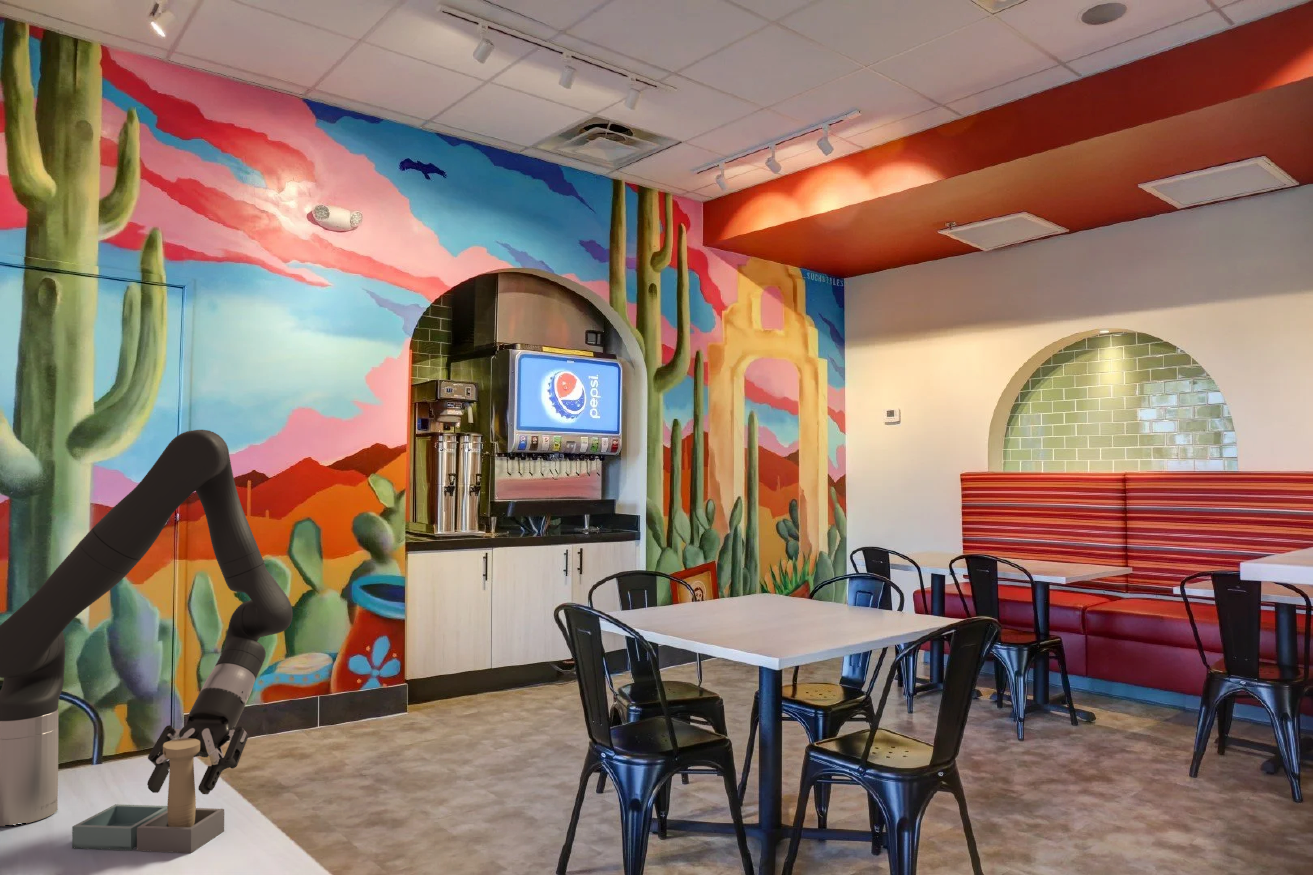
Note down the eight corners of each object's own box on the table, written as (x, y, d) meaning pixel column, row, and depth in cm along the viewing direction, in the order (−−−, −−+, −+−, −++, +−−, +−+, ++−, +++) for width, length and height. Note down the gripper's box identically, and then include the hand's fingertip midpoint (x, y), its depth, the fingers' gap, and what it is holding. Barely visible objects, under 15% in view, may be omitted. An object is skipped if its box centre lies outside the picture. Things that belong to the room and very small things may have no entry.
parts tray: (72, 848, 133) (72, 826, 133) (115, 824, 142) (115, 804, 142) (130, 850, 132) (130, 828, 132) (170, 826, 141) (170, 806, 141)
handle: (172, 851, 131) (172, 751, 132) (157, 840, 136) (157, 743, 136) (205, 841, 135) (205, 744, 135) (190, 830, 139) (190, 736, 140)
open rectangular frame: (136, 850, 132) (136, 827, 132) (172, 829, 140) (172, 807, 140) (191, 853, 131) (191, 829, 131) (224, 831, 139) (224, 808, 139)
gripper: (173, 685, 145) (123, 779, 133) (253, 686, 143) (209, 781, 131) (194, 708, 150) (147, 801, 138) (271, 709, 148) (230, 803, 136)
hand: (177, 791), depth 135 cm, fingers open, 8 cm apart
